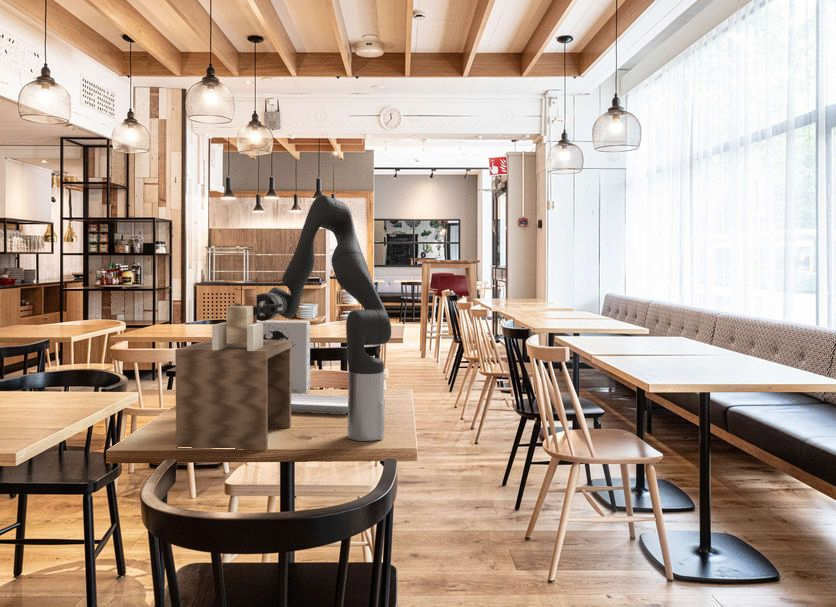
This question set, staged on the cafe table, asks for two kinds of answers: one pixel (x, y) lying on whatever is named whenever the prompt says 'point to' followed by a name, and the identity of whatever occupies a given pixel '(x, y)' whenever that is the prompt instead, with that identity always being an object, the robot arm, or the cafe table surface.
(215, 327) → the upright cream panels
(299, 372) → the cereal box
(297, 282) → the robot arm
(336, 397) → the tray
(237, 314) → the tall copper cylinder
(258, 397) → the open wooden cabinet
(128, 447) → the cafe table surface
